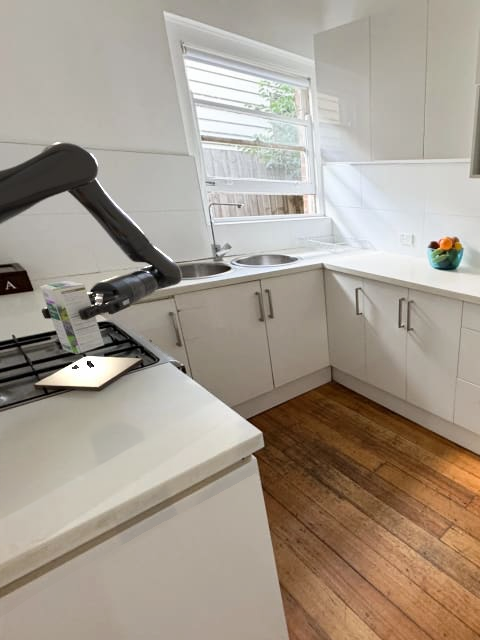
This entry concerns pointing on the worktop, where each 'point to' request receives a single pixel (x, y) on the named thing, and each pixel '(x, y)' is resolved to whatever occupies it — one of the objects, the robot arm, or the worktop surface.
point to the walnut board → (89, 374)
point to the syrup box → (71, 316)
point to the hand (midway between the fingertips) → (63, 315)
